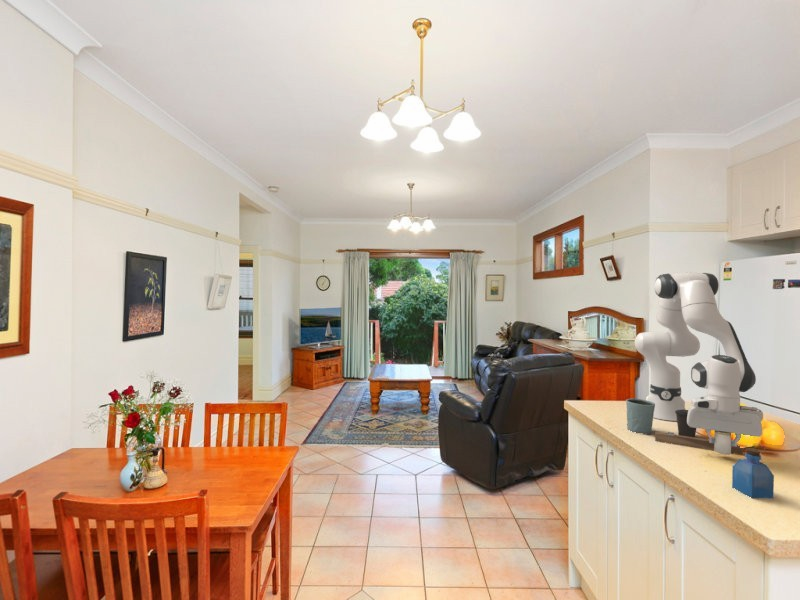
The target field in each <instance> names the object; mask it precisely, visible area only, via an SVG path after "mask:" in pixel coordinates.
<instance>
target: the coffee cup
mask: <svg viewBox="0 0 800 600" xmlns="http://www.w3.org/2000/svg"><path fill="white" fill-rule="evenodd" d="M688 410H689V409H685V410H676V411H675V413H676V416H677V421H676V424H677V432H678V434H677V435H681V436H687V437H694V438H696V433H697V428H694V427H690V426H689V425H688V424H687V414H688Z"/></svg>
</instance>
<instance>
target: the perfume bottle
mask: <svg viewBox="0 0 800 600" xmlns="http://www.w3.org/2000/svg"><path fill="white" fill-rule="evenodd" d="M744 457H745V458H739V459H738V460H737V461H736V462H735V463H734V464H733V465H732V471H731V473H732V475H731V476H732V478H731V479H732V481H731V488H732V489H734V488H735V489H736V491H737V490H738V491H737V492H739V491H740V492H739V493H741V494H743V495H744V496H746V495H747V496H746V497H748V496H749V497H748V498H750V497H751V498H750V499H774V494H775V492H774V490H775V489H774V486H775V483H774V482H775V475H774V474H773V472H772V471H771V469H770V468H769V466H768V464H765V463H763V462H761V461H762V455H761V450H759V449H756V448H754V447H750V448H745V453H744ZM735 489H734V490H735Z"/></svg>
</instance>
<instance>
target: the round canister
mask: <svg viewBox="0 0 800 600" xmlns="http://www.w3.org/2000/svg"><path fill="white" fill-rule="evenodd" d="M713 437H714V438H715V443H714V450H713V451H714V452H715V453H718V454H722V455H731V454H732V453H731V433H729V432H722V431H715V430H714V436H713Z"/></svg>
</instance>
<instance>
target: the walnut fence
mask: <svg viewBox="0 0 800 600" xmlns="http://www.w3.org/2000/svg"><path fill="white" fill-rule="evenodd" d="M658 441H660V443H665V442H666V444H671V443H672V445H679V446H683V447H684V446H685V447H689V448H690V447H691V448H696V449H702V450H703V449H704V450H710V451H714V443H709V439H705V438H699V437H695V438H694V437H687V436H681V435H679V434H675V433H674V432H672V431H667V432H666V433H665V432H660V431H654V442H658ZM733 453H735V455H738V456H739V455H740V456H744V448H740V446H738V445H737V447H735V446H731V454H733Z"/></svg>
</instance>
